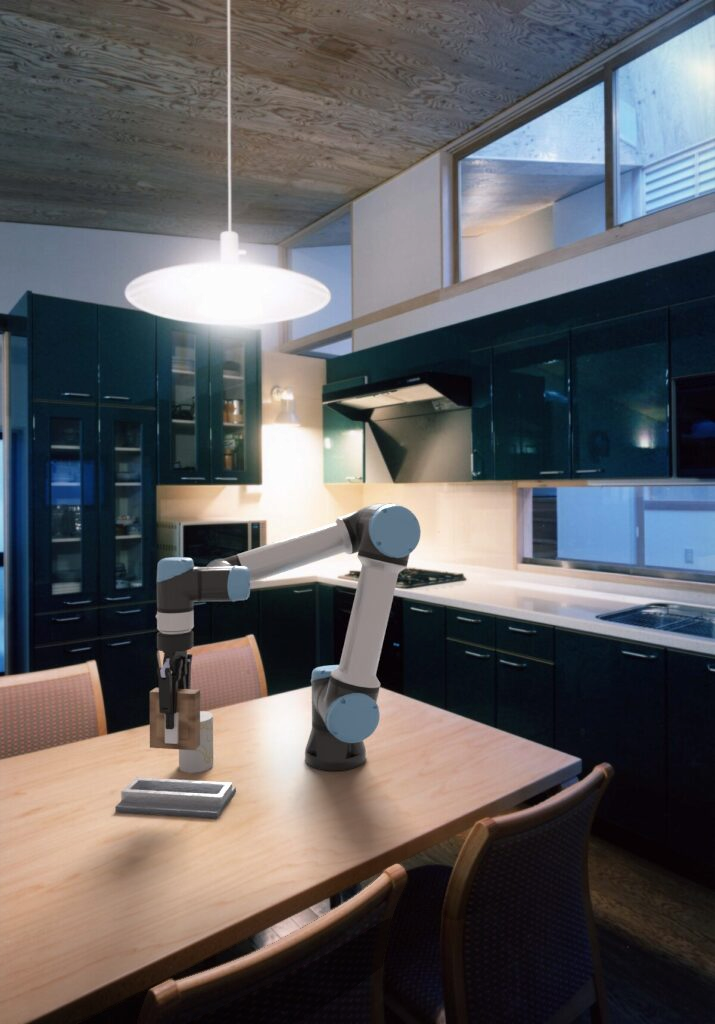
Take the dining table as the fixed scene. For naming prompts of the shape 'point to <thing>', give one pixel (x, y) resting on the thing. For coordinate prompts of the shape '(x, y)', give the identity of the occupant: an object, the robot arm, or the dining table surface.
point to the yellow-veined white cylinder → (199, 748)
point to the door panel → (186, 721)
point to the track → (175, 797)
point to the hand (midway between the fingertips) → (175, 739)
